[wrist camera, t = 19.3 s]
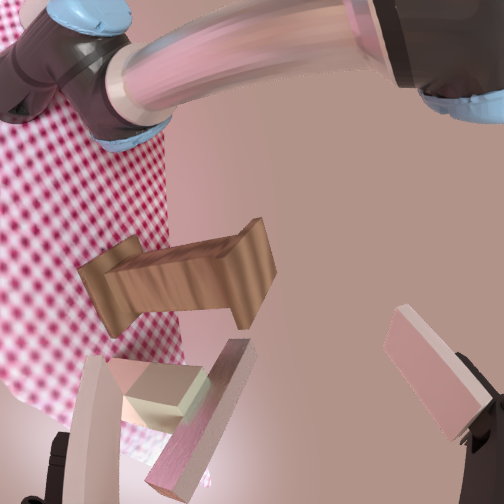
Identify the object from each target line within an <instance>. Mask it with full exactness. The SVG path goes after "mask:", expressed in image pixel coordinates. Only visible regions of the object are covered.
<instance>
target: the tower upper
mask: <svg viewBox="0 0 504 504" xmlns="http://www.w3.org/2000/svg"><path fill="white" fill-rule="evenodd" d="M206 378H207V374H206V372H205V370H204V368H203V366H188V365H175V364H163V363H153V362H151V363H150V364H149V365H148V367H147V368H146V369H145V370H144V372H143V373H142V374H141V375H140V377H139V378H138V379H137V380H136V382H135V383H134V384H133V385H132V386H131V388H130V389H129V390H128V391H127V393H126V394H125V395H124V396H125V397H126V399H127V400H128V401H129V403H130V404H131V406H132V407H133V408H134V410H135V411H136V412H137V413H138V415H139V416H140V417H141V419H142V420H143V421H144V422H145V424H146V425H147V426H148V427H149V428H150V429H153V430H157V431H161V432H165V433H169V434H173V433H174V431H175V430H176V428H177V426H178V425H179V423H180V421H181V420H182V418H183V416H184V415H185V413H186V411H187V410H188V408H189V406H190V405H191V403H192V401H193V400H194V398H195V396H196V395H197V393H198V391H199V390H200V388H201V386H202V384H203V383H204V381H205V379H206Z"/></svg>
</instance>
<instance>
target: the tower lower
mask: <svg viewBox="0 0 504 504" xmlns="http://www.w3.org/2000/svg"><path fill="white" fill-rule="evenodd" d="M150 363H151V362H144V361H135V360H127V359H120V358H113V357H112V358H111V359H110V360H109V361H108V362H107V365H108V367H109V369H110V371H111V373H112V375H113V377H114V379H115V380H116V382H117V384H118V386H119V388H120V390H121V392H122V393H123V405H122V417H121V420H123V421H126V422H129V423H132V424H136V425H139V426H142V427H146V428H149V427H148V426H147V425H146V424H145V422H144V421H143V420H142V419H141V417H140V416H139V415H138V413H137V412H136V411H135V410H134V408H133V407H132V406H131V404H130V403H129V401H128V400H127V399H126V397H125V396H124V395H125V394H126V393H127V391H128V390H129V389H130V388H131V386H132V385H133V384H134V383H135V382H136V380H137V379H138V378H139V377H140V375H141V374H142V373H143V372H144V370H145V369H146V368H147V367H148V365H149V364H150Z"/></svg>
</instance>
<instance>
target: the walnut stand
mask: <svg viewBox="0 0 504 504" xmlns="http://www.w3.org/2000/svg"><path fill="white" fill-rule="evenodd" d="M77 270H78V273H79V275H80V277H81V279H82V282H83V284H84V286H85V288H86V290H87V292H88V295H89V297H90V299H91V301H92V303H93V305H94V307H95V309H96V311H97V313H98V315H99V317H100V319H101V321H102V322H103V324H104V326H105V328H106V330H107V332H108V334H109V335H110V337H111V338H114V339H116V338H117V337H118V336H119V335H120V334H121V333H122V332H123V331H124V330H125V329H126V328H127V327H128V326H129V325H130V324H132V323H133V322H134V321H135V320H136V319H137V318H138V317H139V316H140V315H141V314H142V313H143V312H166V311H187V310H205V309H220V308H231V311H232V314H233V316H234V319H235V322H236V324H237V328H238V330H243V329H249V328H250V326H251V324H252V322H253V320H254V318H255V316H256V314H257V312H258V310H259V308H260V306H261V304H262V302H263V300H264V298H265V296H266V294H267V292H268V290H269V288H270V286H271V284H272V282H273V280H274V278H275V276H276V274H277V270H276V267H275V263H274V259H273V256H272V252H271V249H270V245H269V241H268V237H267V234H266V231H265V227H264V223H263V220H262V217H261V218H256V219H253V220H252V221H251V222H250V223H249V224H248V225H247V226H246V227H245V228H244V229H243V230H242V231H241V232H240V233H239V234H238V235H233V236H227V237H222V238H217V239H212V240H207V241H202V242H196V243H191V244H186V245H181V246H176V247H171V248H166V249H161V250H156V251H151V252H146V253H143V250H142V248H141V245H140V242H139V240H138V237H137V234H136V235H132V236H130V237H128V238H127V239H125V240H123V241H122V242H120V243H118V244H117V245H115V246H113V247H112V248H110V249H108V250H107V251H105V252H104V253H102V254H100V255H99V256H97V257H96V258H94V259H92V260H91V261H89V262H88V263H86V264H84V265H83V266H81V267H80V268H78V269H77Z"/></svg>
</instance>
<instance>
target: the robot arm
mask: <svg viewBox="0 0 504 504" xmlns="http://www.w3.org/2000/svg"><path fill="white" fill-rule="evenodd" d="M131 23H132V16H131V10H130V8H129V6H128V4H127V3H126V1H125V0H50V1H49V2H48V4H47V6H46V7H45V8H44V9H43V10H42V11H41V12H40V13H39V14H38V16H37V17H36V18H35V19H34V20H33V21H32V23H31V24H30V25H29V26H28V27H27V29H26V30H25V31H24V32H23V34H22V35H21V36H20V37H19V39H18V40H17V41H16V42H15V43H13V44H12V45H11V46H9V47H8V48H6V49H5V50H4V51H2V52H1V53H0V120H2V121H4V122H7V123H12V124H21V123H26V122H29V121H31V120H33V119H34V118H36V117H37V116H38V115H39V114H40V113H41V112H42V111H43V110H44V109H45V108H46V107H47V106H48V105H49V103H50V102H51V100H52V98H53V96H54V94H55V92H56V90H57V88H58V87H59V89H60V90H61V92H62V93H63V95H64V96H65V97H66V99H67V100H68V102H69V103H70V105H71V106H72V108H73V109H74V110H75V112H76V113H77V115H78V116H79V117H80V119H81V120H82V122H83V123H84V124H85V126H86V127H87V129H88V130H89V131H90V134H91V136H92V138H93V139H94V140H96V141H97V142H98V143H99V144H100V145H101V147H102V148H103V149H105V150H106V151H108V152H112V153H117V152H123V151H127V150H129V149H132V148H134V147H135V146H137V145H138V144H139V143H141V144H142V143H144V142H146V141H147V140H149V139H151V138H152V137H154V136H155V135H156V134H158V133H159V132H160V131H161V130H163V129H164V128H165V127H166V126H167V125H168V123H169V122H170V120H171V118H172V113H173V112H174V111H175V109H176V108H177V105H179V104H182V103H186V102H189V101H192V100H196V99H199V98H203V97H206V96H210V95H213V94H217V93H221V92H225V91H228V90H233V89H237V88H242V87H245V86H251V85H255V84H259V83H265V82H270V81H276V80H281V79H287V78H293V77H299V76H307V75H315V74H323V73H332V72H342V71H356V70H373V71H375V72H377V73H378V74H379V75H381V76H382V77H383V78H385V79H386V80H387V81H388V82H389V83H391V84H392V85H393V86H394V87H398V88H418V92H419V95H420V96H421V97H422V99H423V101H424V102H425V104H426V105H427V106H428V107H430V108H431V109H432V110H434V111H436V112H438V113H440V114H450V116H451V117H452V118H454V119H457V120H461V121H466V122H472V123H479V124H504V0H239V1H236V2H234V3H231V4H229V5H226V6H224V7H221V8H219V9H217V10H214V11H212V12H210V13H207V14H205V15H203V16H201V17H199V18H197V19H195V20H193V21H190V22H188V23H186V24H184V25H182V26H181V27H178V28H177V29H175V30H173V31H171V32H169V33H167V34H165V35H164V36H162V37H160V38H158V39H157V40H155V41H153V42H151V43H145V42H137V43H131V42H130V41H129V39H128V37H127V36H126V34H125V32H126V31H127V29H128V28H129V27H130V25H131ZM383 349H384V351H385V352H386V353H387V355H388V356H389V357H390V359H391V360H392V362H393V363H394V364H395V366H396V367H397V368H398V370H399V371H400V372H401V374H402V375H403V376H404V378H405V379H406V380H407V382H408V383H409V385H410V386H411V388H412V389H413V390H414V392H415V393H416V394H417V396H418V397H419V399H420V400H421V401H422V403H423V404H424V406H425V407H426V409H427V410H428V412H429V413H430V414H431V416H432V417H433V419H434V420H435V422H436V423H437V424H438V426H439V427H440V429H441V430H442V432H443V433H444V435H445V436H446V438H447V439H448V441H449V442H452V441H453V440H455V439H456V438H458V437H459V436H461V435H462V434H463V433H464V432H465V431H466V429H467V428H469V430H470V431H469V432H468V433H467V434H466V435H465V436H464V437H463V439H462V440H461V442H460V445H462V444H463V443H464V442H465V441H466V440H467V441H466V443H465V445H467V451H466V460H465V469H464V476H463V483H462V489H461V494H460V500H459V504H504V394H501V395H500V394H499V393H498V392H497V391H496V390H495V389H494V388H493V387H492V386H491V384H490V383H489V382H488V381H487V380H486V378H485V377H484V376H483V375H482V374H481V373H480V372H479V370H478V369H477V368H476V367H475V366H474V365H473V364H472V362H471V361H470V360H469V359H468V358H467V357H466V356H464V355H462V354H461V353H459V352H457V353H454V352H453V351H452V350H451V349H450V348H449V347H448V346H447V345H446V344H445V343H444V342H443V340H442V339H441V338H440V337H439V336H438V335H437V334H436V333H435V332H434V331H433V330H432V329H431V328H430V327H429V325H427V323H426V322H425V321H424V320H423V319H422V318H421V317H420V316H419V315H418V314H417V313H416V312H415V311H414V310H413V309H412V308H411V307H410V306H409V305H408V304H405V305H402V306H398V307H396V308H395V311H394V315H393V318H392V322H391V325H390V328H389V331H388V334H387V337H386V340H385V343H384V346H383ZM122 405H123V393H122V392H121V390H120V388H119V386H118V384H117V382H116V380H115V379H114V377H113V375H112V373H111V371H110V369H109V367H108V365H107V363H106V361H105V359H104V357H103V355H95V356H87V357H86V361H85V365H84V369H83V373H82V377H81V381H80V385H79V389H78V394H77V399H76V403H75V408H74V413H73V419H72V424H71V430H70V433H67V432H58V433H57V435H56V437H55V438H54V440H53V442H52V446H51V453H50V454H51V456H50V459H49V466H48V473H47V482H46V491H45V499H44V500H42V499H41V498H39V497H37V496H28V497H26V498H24V499H23V501H22V502H21V504H119V454H120V432H121V417H122Z"/></svg>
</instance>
